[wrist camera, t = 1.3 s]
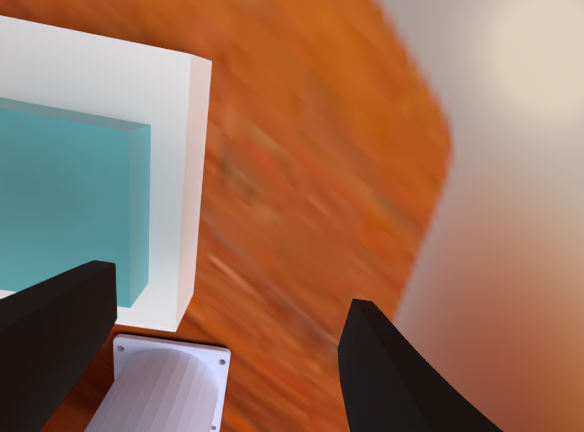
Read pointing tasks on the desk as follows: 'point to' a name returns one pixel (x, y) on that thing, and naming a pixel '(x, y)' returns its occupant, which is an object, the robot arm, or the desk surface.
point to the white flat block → (136, 108)
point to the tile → (72, 196)
